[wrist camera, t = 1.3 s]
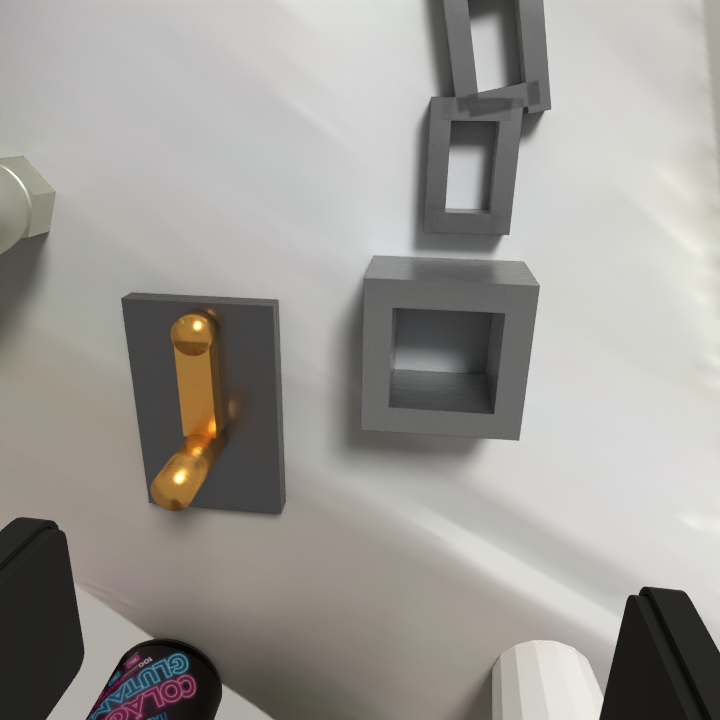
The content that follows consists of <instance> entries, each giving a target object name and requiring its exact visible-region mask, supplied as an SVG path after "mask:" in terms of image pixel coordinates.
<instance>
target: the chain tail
mask: <svg viewBox="0 0 720 720" xmlns="http://www.w3.org/2000/svg"><path fill="white" fill-rule="evenodd" d="M514 5H515V16H516V27H517V39H518V50H519V61H520V72H521V84H517V85H513V86H508V87H503V88H498V89H494V90H489V91H484V92H480V93H478V90H477V81H476V72H475V63H474V55H473V46H472V37H471V28H470V19H469V10H468V1H467V0H443V8H444V16H445V24H446V32H447V40H448V48H449V55H450V63H451V71H452V79H453V87H454V95H455V97H431V110H430V128H429V146H428V163H427V181H426V199H425V216H424V232H437V233H465V234H492V235H509V232H510V223H511V214H512V205H513V196H514V187H515V178H516V169H517V160H518V151H519V142H520V133H521V124H522V114H523V107H524V114H531V113H536V112H541V111H545V110H550V109H551V101H550V87H549V74H548V60H547V47H546V33H545V19H544V6H543V0H514ZM451 120H452V121H497V123H496V133H495V144H494V154H493V165H492V175H491V185H490V196H489V206H488V210H477V209H446V208H445V204H446V190H447V175H448V161H449V146H450V132H451Z"/></svg>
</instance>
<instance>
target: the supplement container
mask: <svg viewBox="0 0 720 720" xmlns="http://www.w3.org/2000/svg"><path fill="white" fill-rule="evenodd" d="M221 698H222V683H221V679H220V676H219V673H218V671H217V669H216V668H215V666H214V664H213V663H212V662H211V660H210V659H209V658H208V657H207V656H206V655H205V654H203V653H202V652H201V651H199V650H198V649H196V648H195V647H193V646H191V645H189V644H186V643H183V642H181V641H177V640H172V639H153V640H149V641H145V642H142V643H140V644H138V645H136V646H134V647H133V648H131V649H130V650H129V651H127V652H126V653H125V654H124V656H122V658H121V660H120V661H119V663H118V665H117V666H116V668H115V670H114V672H113V673H112V675H111V677H110V679H109V680H108V682H107V684H106V685H105V687H104V689H103V691H102V693H101V694H100V696H99V698H98V700H97V701H96V703H95V705H94V706H93V708H92V710H91V712H90V713H89V715H88V717H87V718H86V720H214V718H215V715H216V713H217V710H218V707H219V704H220V701H221Z"/></svg>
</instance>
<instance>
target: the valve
mask: <svg viewBox="0 0 720 720" xmlns="http://www.w3.org/2000/svg"><path fill="white" fill-rule="evenodd" d="M54 200H55V190H54V189H53V188H52V186H51V185H50V184H49V183H48V182H47V181H46V180H45V179H44V178H43V177H42V176H41V174H40V173H39V172H38V171H37V170H36V169H35V168H34V167H33V166H32V165H31V164H30V162H29V161H28V160H27V159H26V158H25V157H24V156H18V157H6V158H0V254H1V253H3V252H5V251H7V250H8V249H10V248H11V247H12V246H13V245H14V244H15V243H16V242H17V241H18V240H19V239H22V238H28V237H32V236H35V235H39V234H42V233H46V232H49V230H50V225H51V219H52V213H53V206H54Z"/></svg>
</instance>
